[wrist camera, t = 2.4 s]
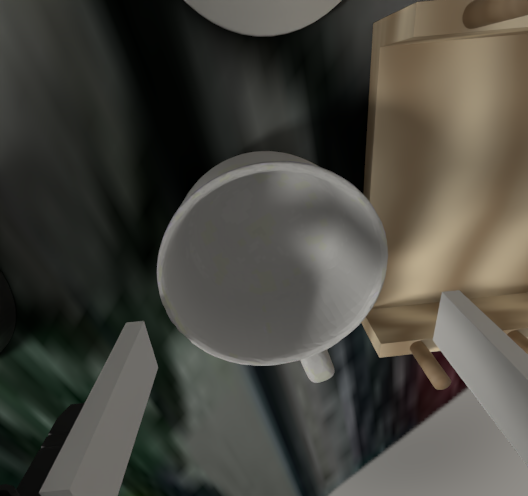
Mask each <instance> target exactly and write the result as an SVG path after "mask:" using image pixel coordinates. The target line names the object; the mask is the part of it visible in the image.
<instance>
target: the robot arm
mask: <svg viewBox="0 0 528 496" xmlns="http://www.w3.org/2000/svg"><path fill="white" fill-rule="evenodd" d="M15 323H16V308H15V302H14V299H13V295H12V292H11V290H10V287H9V285H8V283H7V281H6V279H5V277H4V276H3V274H2V273H1V271H0V352H1V351H2V350H3V349H4V348H5V347H6V345H7V344H8V342H9V341H10V339H11V337H12V335H13V332H14V328H15ZM433 341H434V343H435V344H436V345H437V347H438V348H439V349H440V351H441V352H442V353H443V355H444V356H445V357H446V359H447V360H448V361H449V363H450V364H451V365H452V367H453V368H454V369H455V371H456V372H457V373H458V375H459V376H460V377H461V379H462V380H463V381H464V383H465V384H466V385H467V387H468V388H469V389H470V391H471V392H472V393H473V395H474V396H475V397H476V399H478V401H479V402H480V404H481V405H482V406H483V408H484V409H485V411H486V412H487V413H488V415H489V416H490V417H491V419H492V420H493V421H494V423H495V424H496V425H497V426H498V428H499V429H500V431H501V432H502V433H503V435H504V436H505V437H506V439H507V440H508V441H509V443H510V444H511V445H512V447H513V448H514V449H515V451H516V452H517V453H518V455H519V456H520V457H521V458H522V460H523V461H524V463H525V464H526V465H527V466H528V354H527V353H526V352H525V351H524V350H523V349H522V348H520V347H519V346H518V345H517V344H516V343H515V342H514V341H513V340H512V339H511V338H510V337H509V336H508V335H507V334H505V333H504V332H503V331H502V330H501V329H500V328H499V327H498V326H497V325H496V324H495V323H494V322H493V321H492V320H491V319H489V318H488V317H487V316H486V315H485V314H484V313H483V312H482V311H481V310H480V309H479V308H478V307H477V306H476V305H474V304H473V303H472V302H471V301H470V300H469V299H468V298H467V297H466V296H465V295H464V294H463V293H462V292H461V291H459V290H456V291H446V292H442V294H441V299H440V305H439V310H438V315H437V320H436V325H435V331H434V336H433ZM157 369H158V365H157V362H156V359H155V356H154V352H153V349H152V346H151V343H150V339H149V336H148V333H147V330H146V326H145V323H144V321H139V322H129V323H126V324H125V326H124V328H123V330H122V332H121V334H120V336H119V338H118V340H117V342H116V344H115V346H114V348H113V350H112V351H111V353H110V355H109V357H108V359H107V361H106V363H105V365H104V367H103V369H102V371H101V373H100V375H99V377H98V379H97V381H96V383H95V384H94V386H93V388H92V390H91V392H90V394H89V396H88V398H87V400H86V402H85V403H81V404H71V405H70V406H69V407H68V408H67V409H66V410H65V411H64V412H63V413H62V414H61V415H60V416H59V417H58V418H57V420H56V422H55V423H54V425H53V427H52V429H51V430H50V432H49V436H48V437H46V439H45V441H44V443H43V444H42V446H41V450H39V451H38V453H37V455H36V456H35V458H34V460H33V462H32V463H31V465H30V467H29V469H28V470H27V472H26V474H25V476H24V477H23V479H22V481H21V483H20V484H19V486H18V488H17V489H15V488H14V486H11V485H7V484H4V485H0V496H117V495H118V492H119V489H120V486H121V483H122V480H123V477H124V473H125V470H126V467H127V464H128V461H129V458H130V454H131V451H132V448H133V445H134V442H135V439H136V435H137V432H138V429H139V426H140V423H141V420H142V417H143V413H144V410H145V407H146V404H147V401H148V398H149V394H150V391H151V388H152V385H153V382H154V379H155V376H156V372H157Z"/></svg>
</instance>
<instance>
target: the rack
mask: <svg viewBox="0 0 528 496" xmlns="http://www.w3.org/2000/svg"><path fill="white" fill-rule="evenodd" d="M363 194H364V195H365V196H366V198H367V199H368V200H369V202H370V203H371V204H372V206H373V208H374V209H375V211H376V213H377V214H378V216H379V218H380V220H381V222H382V225H383V228H384V231H385V234H386V239H387V248H388V260H387V269H386V276H385V280H384V283H383V287H382V289H381V292H380V294H379V296H378V298H377V300H376V302H375V304H374V306H373V307H372V309H371V310H370V312H369V313H368V314H367V316H366V317H365V319H364V320H363V321H362V322H361V323H362V325H363V327H364V329H365V331H366V333H367V335H368V336H369V338H370V340H371V342H372V344H373V346H374V348H375V350H376V352H377V354H378V356H379V358H380V357H389V356H398V355H407V354H413V355H414V357H415V358H416V360H417V361H418V363H419V364H420V366H421V367H422V369H423V371H424V372H425V374H426V375H427V377H428V378H429V380H430V381H431V383H432V384H433V386H434V387H435V389H438V390H442V389H445V388H447V387H448V386H449V385H450V384H451V380H450V378H449V377H448V376H447V374H446V373H445V371H444V370H443V369H442V367H441V366H440V364H439V363H438V362H437V360H436V359H435V358H434V356H433V355H432V353H431V352H434V351H440V349H439V348H438V347H437V345H436V344H435V343H434V341H433V336H434V331H435V325H436V320H437V315H438V310H439V305H440V299H441V294H442V292H446V291H456V290H459V291H461V292H462V293H463V294H464V295H465V296H466V297H467V298H468V299H469V300H470V301H471V302H472V303H473V304H474V305H476V306H477V307H478V308H479V309H480V310H481V311H482V312H483V313H484V314H485V315H486V316H487V317H488V318H489V319H491V320H492V321H493V322H494V323H495V324H496V325H497V326H498V327H499V328H500V329H501V330H502V331H503V332H504V333H505V334H507V335H508V336H509V337H510V338H511V339H512V340H513V341H514V342H515V343H516V344H517V345H518V346H519V347H520V348H522V349H523V350H524V351H525V352H526V353H527V354H528V0H433V1H422V2H416V3H414V4H412V5H410V6H408V7H406V8H403V9H401V10H399V11H397V12H395V13H393V14H391V15H389V16H387V17H385V18H383V19H381V20H379V21H377V22H375V23H373V36H372V54H371V71H370V88H369V105H368V122H367V140H366V157H365V174H364V191H363Z"/></svg>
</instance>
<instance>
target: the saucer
mask: <svg viewBox="0 0 528 496" xmlns="http://www.w3.org/2000/svg"><path fill="white" fill-rule="evenodd" d="M184 1H185V2H186V3H187V4H188V5H189V6H190V7H191V8H193V9H194V10H195V11H196V12H197V13H199V14H200V15H201V16H203V17H204V18H206V19H207V20H209V21H210V22H212V23H214V24H216V25H218V26H220V27H222V28H224V29H226V30H229V31H232V32H235V33H239V34H242V35H248V36H255V37H272V36H278V35H284V34H288V33H291V32H294V31H297V30H300V29H302V28H304V27H306V26H308V25H310V24H312V23H314V22H316V21H317V20H319V19H320V18H321V17H323V16H324V15H326V14H327V13H328V12H329V11H331V10H332V9H333V8H334V7H335V6H336V5H337V4H338V3H340V2H341V1H342V0H184Z"/></svg>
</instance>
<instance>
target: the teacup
mask: <svg viewBox="0 0 528 496" xmlns="http://www.w3.org/2000/svg"><path fill="white" fill-rule="evenodd" d="M387 260H388V248H387V239H386V234H385V231H384V228H383V225H382V222H381V220H380V218H379V216H378V214H377V213H376V211H375V209H374V208H373V206H372V204H371V203H370V202H369V200H368V199H367V198H366V196H365V195H364V194H363V193H362V192H361V191H360V190H358V189H357V188H356V187H355V186H354V185H353V184H352V183H350V182H349V181H347V180H346V179H344V178H343V177H341V176H339V175H337V174H335V173H333V172H332V171H329V170H327V169H324V168H321V167H319V166H317V165H315V164H314V163H312V162H310V161H308V160H305V159H303V158H301V157H298V156H295V155H291V154H287V153H283V152H274V151H257V152H250V153H245V154H241V155H238V156H235V157H232V158H230V159H227V160H225V161H223V162H221V163H220V164H218V165H216V166H215V167H213V168H212V169H211V170H209V171H208V172H207V173H206V174H204V175H203V176H202V177H201V178H200V179H199V180H198V181H197V182H196V183H195V185H194V186H193V187H192V189H191V190H190V191H189V193H188V194H187V196H186V197H185V199H184V201H183V202H182V204H181V206H180V207H179V208H178V210H177V211H176V213H175V214H174V216H173V217H172V219H171V221H170V223H169V225H168V227H167V229H166V231H165V233H164V236H163V239H162V242H161V246H160V250H159V254H158V261H157V283H158V288H159V294H160V297H161V300H162V304H163V305H164V307H165V309H166V312H167V314H168V316H169V317H170V319H171V321H172V323H173V324H175V325H176V327H177V328H178V330H179V331H180V332H181V333H183V334H184V335H185V337H187V338H188V339H189V340H190V341H191V342H192V343H193V344H194V345H196V346H197V347H199V348H200V349H202V350H203V351H205V352H207V353H209V354H210V355H213V356H215V357H218V358H221V359H224V360H226V361H230V362H234V363H238V364H243V365H254V366H268V365H278V364H284V363H289V362H294V361H299V360H301V363H302V365H303V367H304V370H305V372H306V374H307V376H308V378H309V379H310V380H311V381H312V382H315V383H319V382H322V381H325V380H327V379H329V378H331V377H332V376H333V375H334V372H335V371H334V367H333V364H332V361H331V359H330V356H329V354H328V351H327V349H328V348H330V347H331V346H333V345H334V344H336V343H338V342H339V341H340V340H341V339H342V338H344V337H346V336H347V335H348V334H350V333H351V332H352V331H353V330H354V329H355V328H356V327H357V326H359V324H360V323H361V322H362V321H363V320H364V319H365V317H366V316H367V314H368V313H369V312H370V310H371V309H372V307H373V306H374V304H375V302H376V300H377V298H378V296H379V294H380V292H381V289H382V287H383V283H384V280H385V276H386V269H387Z"/></svg>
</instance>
